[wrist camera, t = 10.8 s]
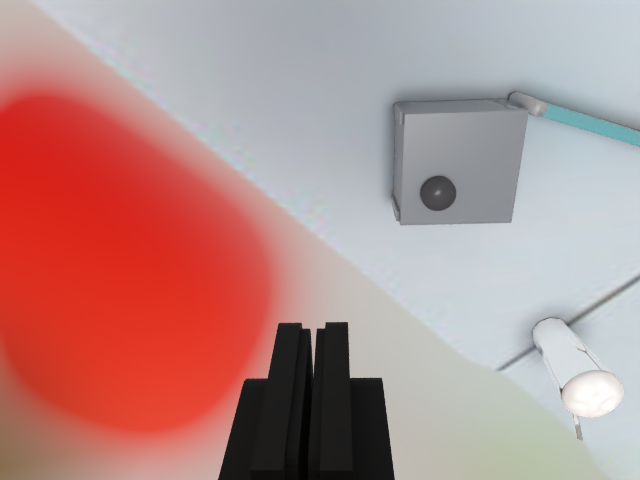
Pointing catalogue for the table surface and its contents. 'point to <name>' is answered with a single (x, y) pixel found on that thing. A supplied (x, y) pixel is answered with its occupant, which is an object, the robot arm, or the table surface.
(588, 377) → the milkshake
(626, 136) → the door
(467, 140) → the camera case
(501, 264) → the table surface
